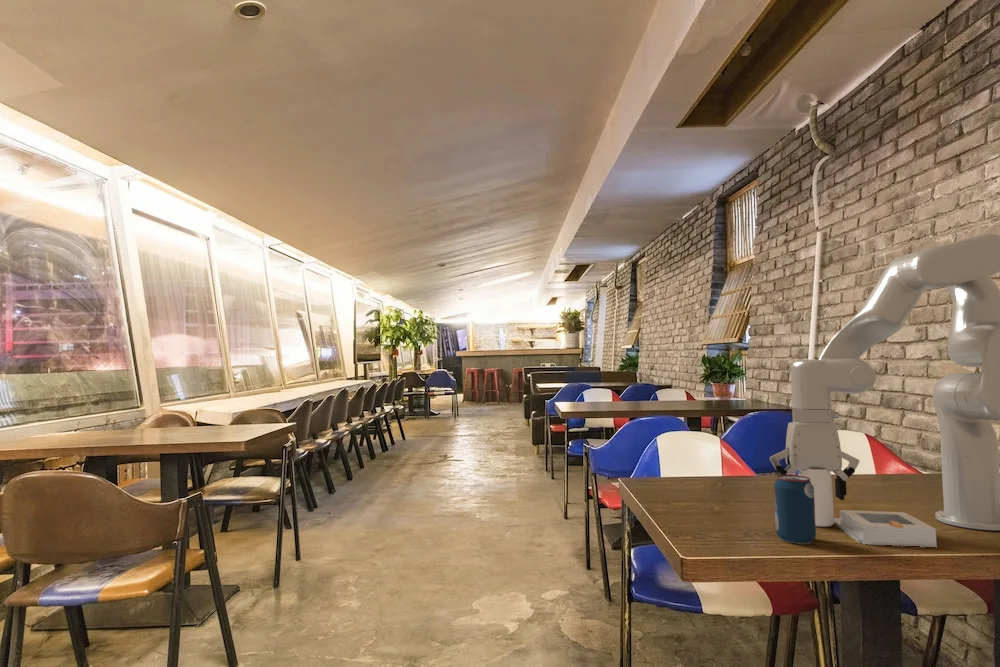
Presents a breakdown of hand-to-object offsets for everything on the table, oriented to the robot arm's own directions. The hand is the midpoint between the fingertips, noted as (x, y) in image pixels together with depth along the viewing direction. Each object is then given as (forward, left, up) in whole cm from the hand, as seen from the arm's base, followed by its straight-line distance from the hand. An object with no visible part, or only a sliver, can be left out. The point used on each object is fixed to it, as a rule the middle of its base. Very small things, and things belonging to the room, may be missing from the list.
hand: (815, 497), depth 123 cm
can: (0, 0, -6) cm, 6 cm away
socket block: (-10, +6, -5) cm, 13 cm away
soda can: (+7, +13, -6) cm, 16 cm away
